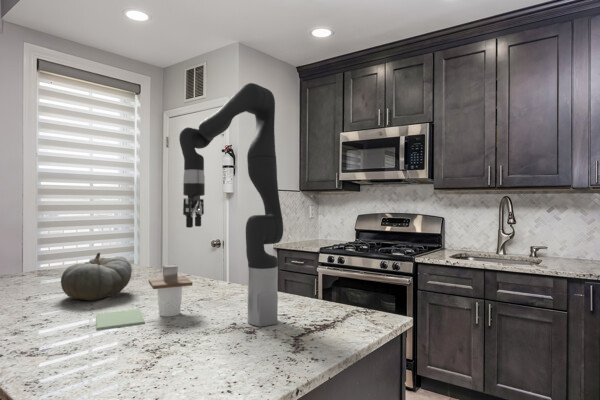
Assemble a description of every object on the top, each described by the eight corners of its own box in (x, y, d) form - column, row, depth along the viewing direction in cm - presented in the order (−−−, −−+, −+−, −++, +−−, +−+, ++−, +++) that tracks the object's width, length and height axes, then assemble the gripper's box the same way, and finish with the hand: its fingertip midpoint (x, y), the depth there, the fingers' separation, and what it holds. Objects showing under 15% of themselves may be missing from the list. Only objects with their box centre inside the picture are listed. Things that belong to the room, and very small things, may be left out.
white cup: (151, 315, 125) (152, 284, 125) (170, 309, 132) (170, 280, 132) (169, 318, 121) (169, 287, 121) (187, 312, 128) (187, 282, 128)
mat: (144, 323, 116) (144, 321, 116) (96, 329, 110) (96, 327, 110) (139, 310, 130) (139, 308, 130) (96, 315, 124) (96, 313, 124)
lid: (192, 285, 124) (192, 267, 124) (153, 289, 118) (153, 269, 118) (184, 278, 135) (184, 262, 135) (148, 282, 129) (148, 264, 129)
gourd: (146, 283, 161) (139, 243, 158) (112, 309, 137) (103, 263, 134) (92, 287, 164) (84, 248, 161) (49, 313, 139) (39, 268, 137)
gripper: (197, 181, 132) (196, 228, 132) (210, 183, 147) (210, 226, 146) (176, 181, 133) (176, 228, 133) (191, 184, 147) (191, 226, 147)
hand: (193, 226), depth 139 cm, fingers open, 8 cm apart
